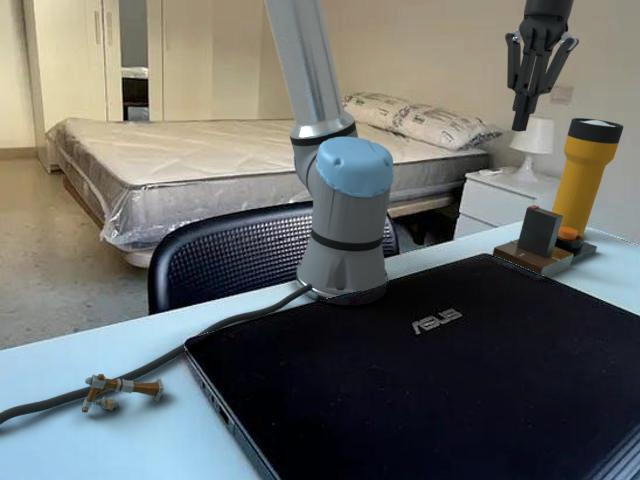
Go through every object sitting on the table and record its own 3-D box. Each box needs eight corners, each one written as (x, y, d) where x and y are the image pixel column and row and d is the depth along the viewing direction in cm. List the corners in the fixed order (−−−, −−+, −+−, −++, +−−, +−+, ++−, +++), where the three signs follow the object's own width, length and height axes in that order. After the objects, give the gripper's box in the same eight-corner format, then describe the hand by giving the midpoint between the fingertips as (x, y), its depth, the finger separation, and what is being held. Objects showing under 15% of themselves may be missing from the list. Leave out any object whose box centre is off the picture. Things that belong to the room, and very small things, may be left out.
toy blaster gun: (71, 404, 52) (87, 368, 51) (146, 409, 57) (161, 376, 56) (73, 416, 51) (89, 378, 50) (149, 420, 55) (165, 386, 55)
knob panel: (538, 282, 90) (543, 267, 89) (490, 261, 98) (493, 246, 96) (570, 267, 98) (574, 253, 96) (522, 248, 105) (526, 235, 104)
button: (570, 242, 102) (573, 234, 101) (553, 236, 104) (556, 228, 104) (578, 239, 104) (581, 231, 103) (562, 233, 107) (564, 225, 106)
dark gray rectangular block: (551, 255, 95) (563, 214, 92) (545, 257, 94) (557, 216, 90) (523, 243, 99) (533, 204, 96) (516, 245, 98) (527, 206, 95)
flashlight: (566, 114, 111) (613, 119, 109) (536, 223, 121) (579, 228, 120) (580, 121, 101) (632, 127, 100) (547, 238, 112) (594, 244, 110)
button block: (570, 265, 99) (575, 249, 98) (529, 248, 105) (533, 233, 104) (595, 253, 106) (600, 238, 104) (554, 238, 112) (558, 224, 111)
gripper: (600, -6, 83) (561, 136, 92) (528, -7, 92) (499, 122, 101) (579, -11, 78) (540, 139, 88) (505, -11, 87) (477, 124, 97)
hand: (518, 130), depth 94 cm, fingers closed
